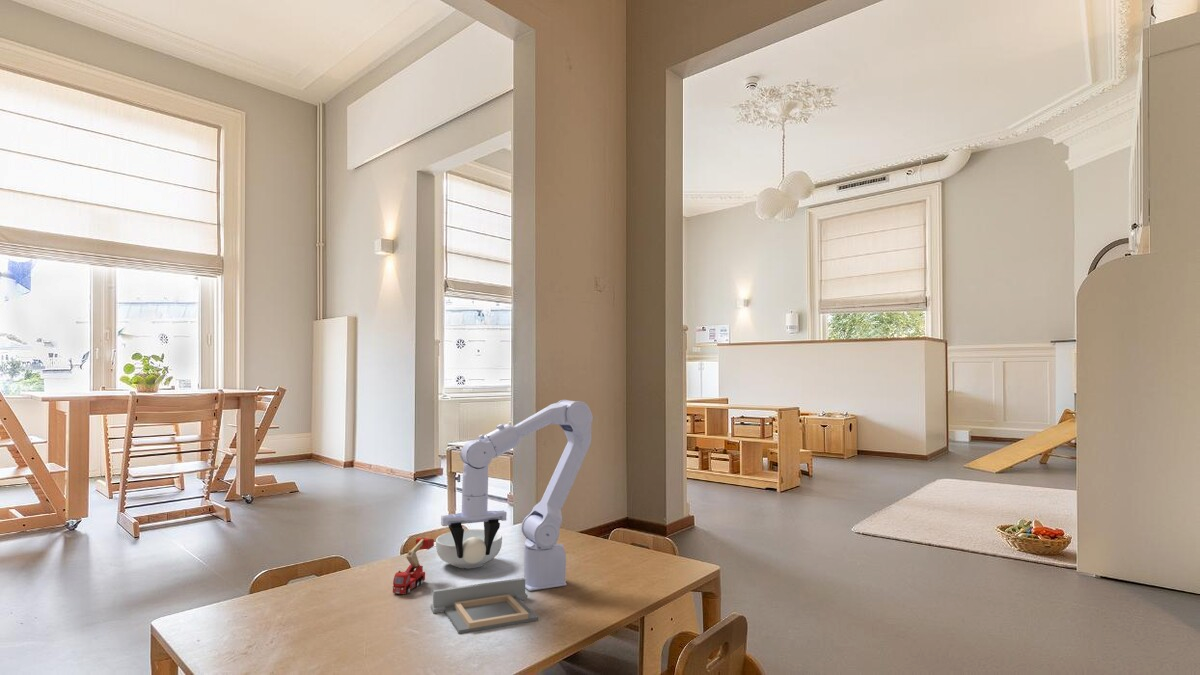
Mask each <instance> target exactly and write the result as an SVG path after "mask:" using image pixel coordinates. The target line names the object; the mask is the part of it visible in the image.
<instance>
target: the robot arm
mask: <svg viewBox="0 0 1200 675" xmlns="http://www.w3.org/2000/svg"><path fill="white" fill-rule="evenodd" d="M593 419H594V416H593V413H592V411H591V409H590V406H589V405H588V404H587V403H586V402H584V401H581V400H577V401H575V400H569V399H561V400H559V401H558V402H555V403H551V404H549V405H548V406H546V407H544V408H542V409H541V410H539V411H538V412H536V413H534V414H532V415H530V416H529V417H527V418H525V419H524V420H521V421H519V422H518V423H516V424H515V425H512V424H509V423H505V424H503V423H499V424H498V425H496V429H494V430H492V431H490V432H488V433H485V434H480V435H478V439H477V440H475V439H471V440H468V441H467V442H465V443H464V445H463V446H462V448H461V451H460V452H459V456H460V459H461V461H462V462H463V463H462V464H463V466H462V467H463V468H462V470H463V471H462V481H461V482H462V483H461V484H462V485H461V486H462V487H461V490H462V491H461V512H459V513H458V512H457V513H453V514H446V515H441V517H440V519H441V520H440V525H441V526H442V527H448V529H449V532H451V533H452V536H453V539H454V542H455V546H456V551H457V557H458V558H462V556H463V534H464V530H465V528H464V527H463V525H465V524H477V523H483V530H484V536H485V538H484V543H485V545H486V553H485V554H486V555H489V554H490V549H491V546H492V542H493V540H494V537H495V535H496V533H497V532H498V531H499V529H500V527H501V523H500V522H499V521H502V522H503V521H504V522H505V521H507V514H508V513H507V511H505V510H488V500H489V494H488V493H489V465H490V464H491V462H492V461H493V459H495V458H498V457H499V456H501V455H503V454H505V453H507V452H508V451H510V450H512V449H514V448H516V447H518V445H519V443H520V440H521V439H522V438H524V437H525V436H528V435H530V434H533V433H535V432H536V431H539V430H540V429H542V428H545V427H546V426H549V425H559V427H560V428H561V429H562V430H563V432H564V435H565V437H566V441H567V443H566V445H565V447H564V449H563V452H562V454H561V456H560V458H559V460H558V462H557V464H556V467H555V470H554V471H553V473H552V475H551V478H550V480H549V481H548V484H547V486H546V489H545V491H544V493H543V495H542V497H541V499H540V501H539V502H538V503H536V504H535V505H534V506H533V508H532V510H531V512H529V514H528V515H526V516H525V517H524V519H523V520H522V522H521V533H522V534H523V536H524V537H525V542H524V556H523V557H524V558H523V578H525V579H526V580H525V590H527V591H530V592H531V591H537V590H544V589H550V588H551V589H552V588H556V587H557V588H559V587H564V586H567V582H566V572H567V571H566V570H567V569H566V566H567V564H566V562H567V558H566V557H567V556H566V554H567V553H566V550H565V547H564V545H563V544H562V543H557V542H558V541H559V537H560V529H561V528H560V527H561V525H562V523H563V515H562V509H563V506H564V504H565V503H566V500H567V498H568V496H569V493H570V492H571V488H572V487H573V484H574V482H575V480H576V478H577V476H578V473H579V471H580V469H581V467H582V465H583V463H584V459H585V458H586V455H587V453H588V450H589V449H590V446H591V445H592V422H593V421H594V420H593Z"/></svg>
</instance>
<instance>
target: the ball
mask: <svg viewBox="0 0 1200 675" xmlns="http://www.w3.org/2000/svg"><path fill="white" fill-rule="evenodd" d="M485 553H486V545H485V543H484V542H483V540H481V539H480V538H477V537H471V538H468V539H467V540H466V541H465V542H464V543H463V556H462V558H463V559H464V560H465V561H466V562H468V563H477V562H479V561H481V560H482V559H483V557H484V556H485Z"/></svg>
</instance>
